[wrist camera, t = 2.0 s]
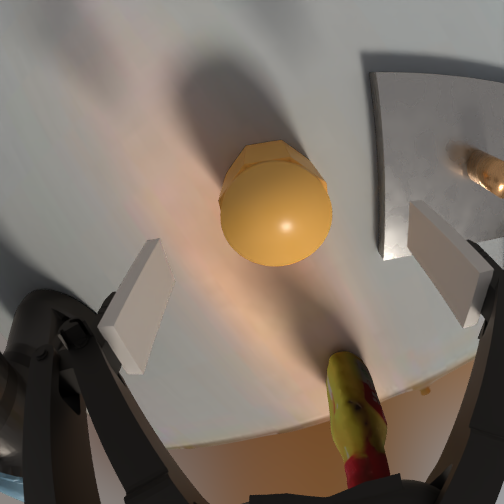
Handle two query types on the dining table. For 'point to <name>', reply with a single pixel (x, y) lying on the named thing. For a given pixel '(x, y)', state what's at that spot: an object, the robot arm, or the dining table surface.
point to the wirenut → (274, 205)
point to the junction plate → (438, 154)
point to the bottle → (356, 419)
